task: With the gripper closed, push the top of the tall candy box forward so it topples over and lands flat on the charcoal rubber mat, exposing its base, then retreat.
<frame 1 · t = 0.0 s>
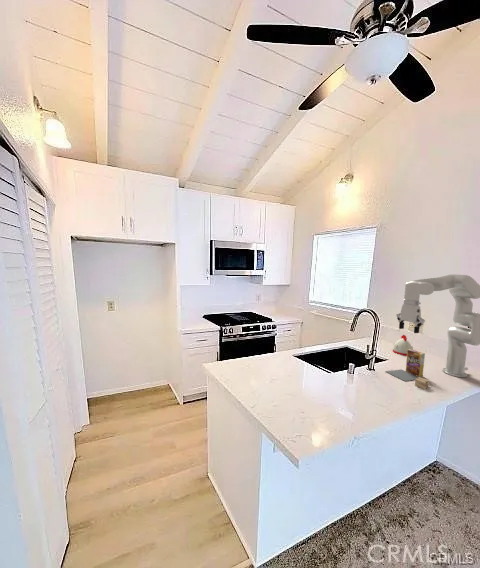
hand: (408, 330, 154), 31 cm above the worktop, fingers open, 9 cm apart
mat: (403, 375, 165), on the worktop
oak block: (421, 386, 151), on the worktop
candy box: (413, 374, 168), on the worktop
kitchen timer: (402, 353, 209), on the worktop
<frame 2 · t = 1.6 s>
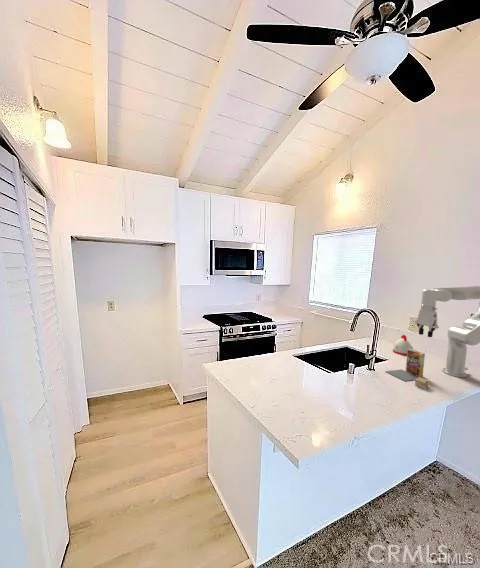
hand: (425, 335, 168), 25 cm above the worktop, fingers open, 5 cm apart
nothing on the worktop moved.
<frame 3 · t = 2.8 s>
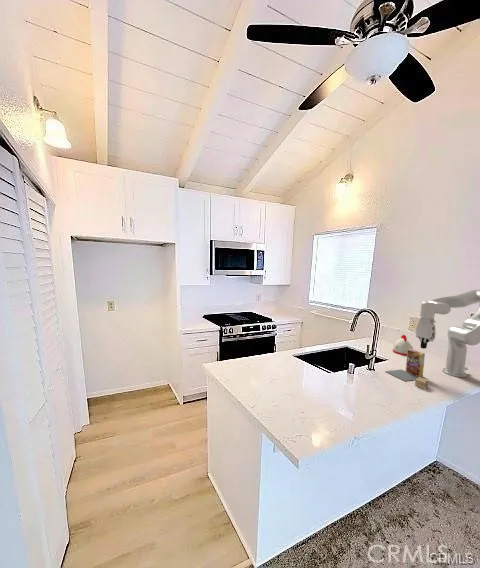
hand: (423, 348, 168), 17 cm above the worktop, fingers closed
nothing on the worktop moved.
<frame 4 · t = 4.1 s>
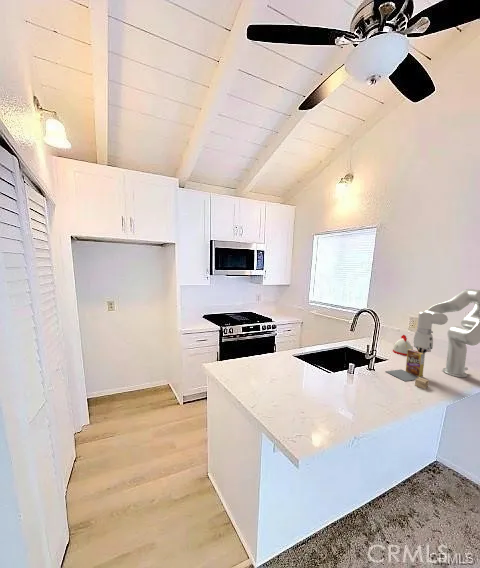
hand: (421, 358, 168), 10 cm above the worktop, fingers closed
nothing on the worktop moved.
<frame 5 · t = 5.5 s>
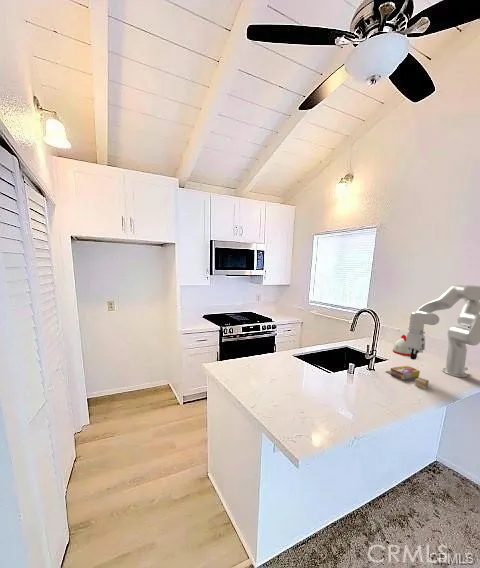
hand: (413, 359, 166), 10 cm above the worktop, fingers closed
candy box: (413, 370, 167), point 2 cm above the worktop, touching mat
everything else where it was.
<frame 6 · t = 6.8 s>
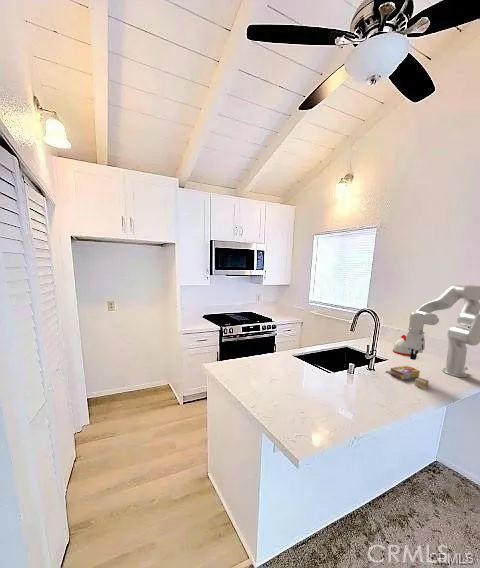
hand: (413, 359, 166), 10 cm above the worktop, fingers closed
nothing on the worktop moved.
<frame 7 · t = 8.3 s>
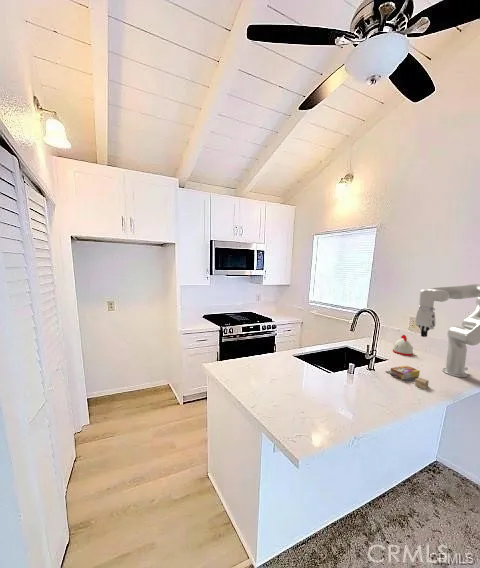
hand: (423, 336, 167), 25 cm above the worktop, fingers closed
nothing on the worktop moved.
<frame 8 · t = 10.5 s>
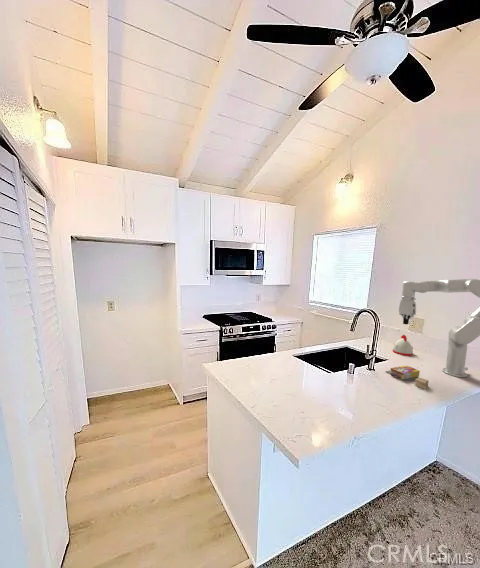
hand: (405, 324, 183), 29 cm above the worktop, fingers closed
nothing on the worktop moved.
at the end: candy box tilted 89°; candy box inside the target area (6.5 cm from its centre), point 2.3 cm above the worktop; candy box touching mat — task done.
